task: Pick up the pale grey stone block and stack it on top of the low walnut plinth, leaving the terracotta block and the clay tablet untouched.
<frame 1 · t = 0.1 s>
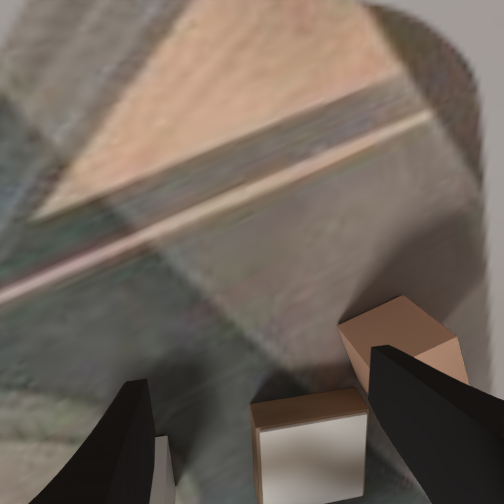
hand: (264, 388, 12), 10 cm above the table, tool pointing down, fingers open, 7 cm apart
terracotta block: (380, 338, 25), on the table
plinth: (302, 436, 27), on the table
stone block: (135, 469, 25), on the table
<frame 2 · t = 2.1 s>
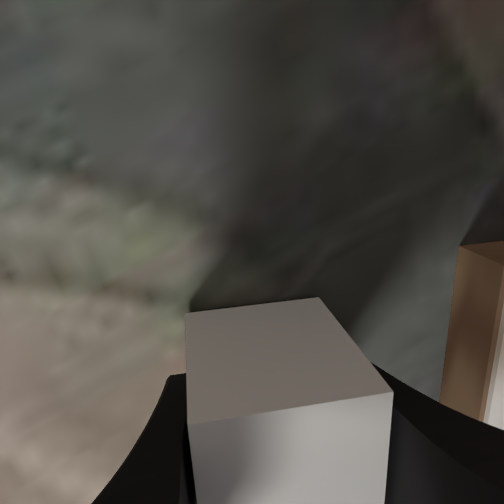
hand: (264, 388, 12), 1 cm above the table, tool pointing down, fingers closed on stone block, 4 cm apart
stone block: (256, 363, 14), on the table, touching gripper
when the fingers open (5 cm above the table, at t = 5.4 s): stone block stays where it is, resting on plinth.
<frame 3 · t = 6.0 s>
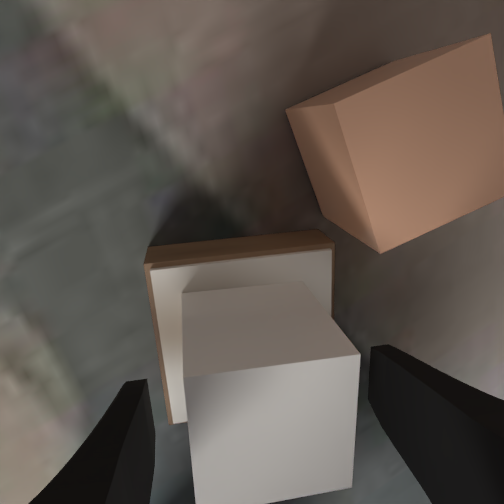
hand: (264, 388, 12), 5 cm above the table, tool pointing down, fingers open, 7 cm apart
terracotta block: (356, 142, 16), on the table
plinth: (240, 311, 17), on the table, touching stone block
stone block: (245, 340, 15), point 2 cm above the table, touching plinth
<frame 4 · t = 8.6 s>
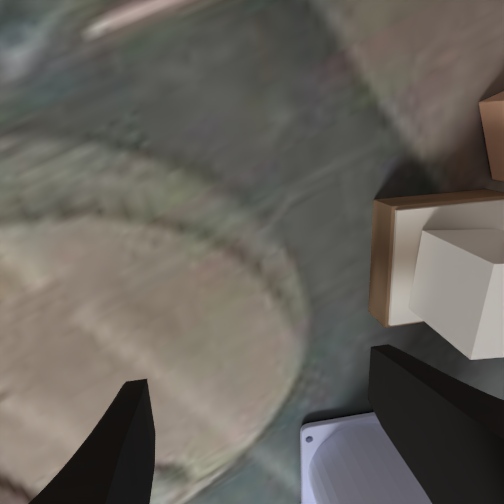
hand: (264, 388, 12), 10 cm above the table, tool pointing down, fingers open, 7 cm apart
plinth: (423, 250, 24), on the table, touching stone block
stone block: (452, 269, 22), point 2 cm above the table, touching plinth
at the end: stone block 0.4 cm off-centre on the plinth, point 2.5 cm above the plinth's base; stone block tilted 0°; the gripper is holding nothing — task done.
